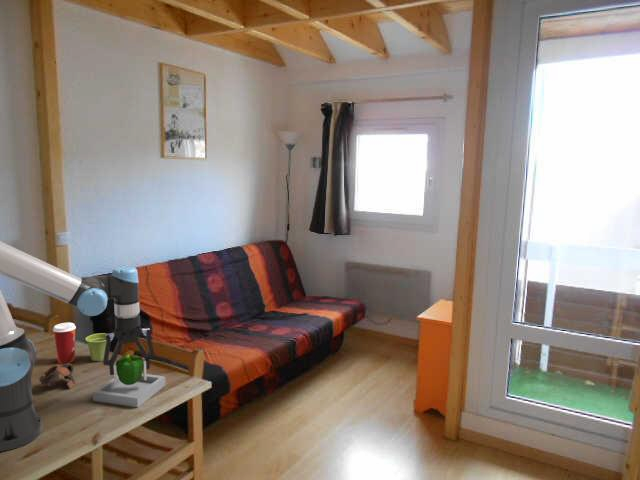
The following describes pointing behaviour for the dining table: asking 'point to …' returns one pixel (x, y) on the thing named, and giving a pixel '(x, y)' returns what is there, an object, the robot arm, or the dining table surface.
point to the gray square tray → (129, 391)
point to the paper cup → (65, 342)
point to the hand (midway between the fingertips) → (130, 380)
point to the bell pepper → (129, 369)
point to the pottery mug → (55, 375)
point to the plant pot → (97, 346)
